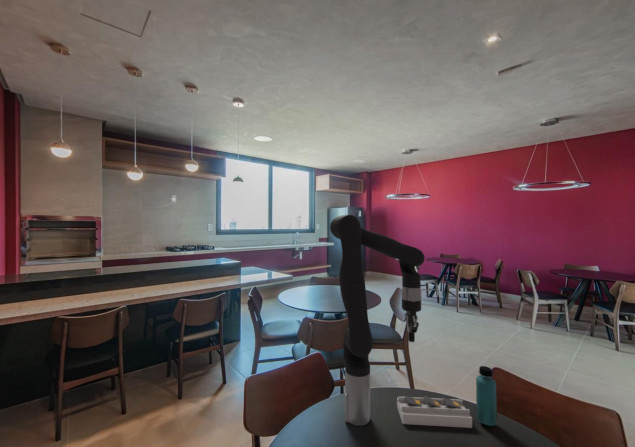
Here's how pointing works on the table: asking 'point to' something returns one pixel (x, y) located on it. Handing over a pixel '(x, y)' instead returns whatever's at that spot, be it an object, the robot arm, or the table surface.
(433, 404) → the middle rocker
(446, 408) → the power strip
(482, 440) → the table surface
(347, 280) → the robot arm
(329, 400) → the table surface
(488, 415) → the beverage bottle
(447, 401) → the right rocker
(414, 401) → the left rocker
